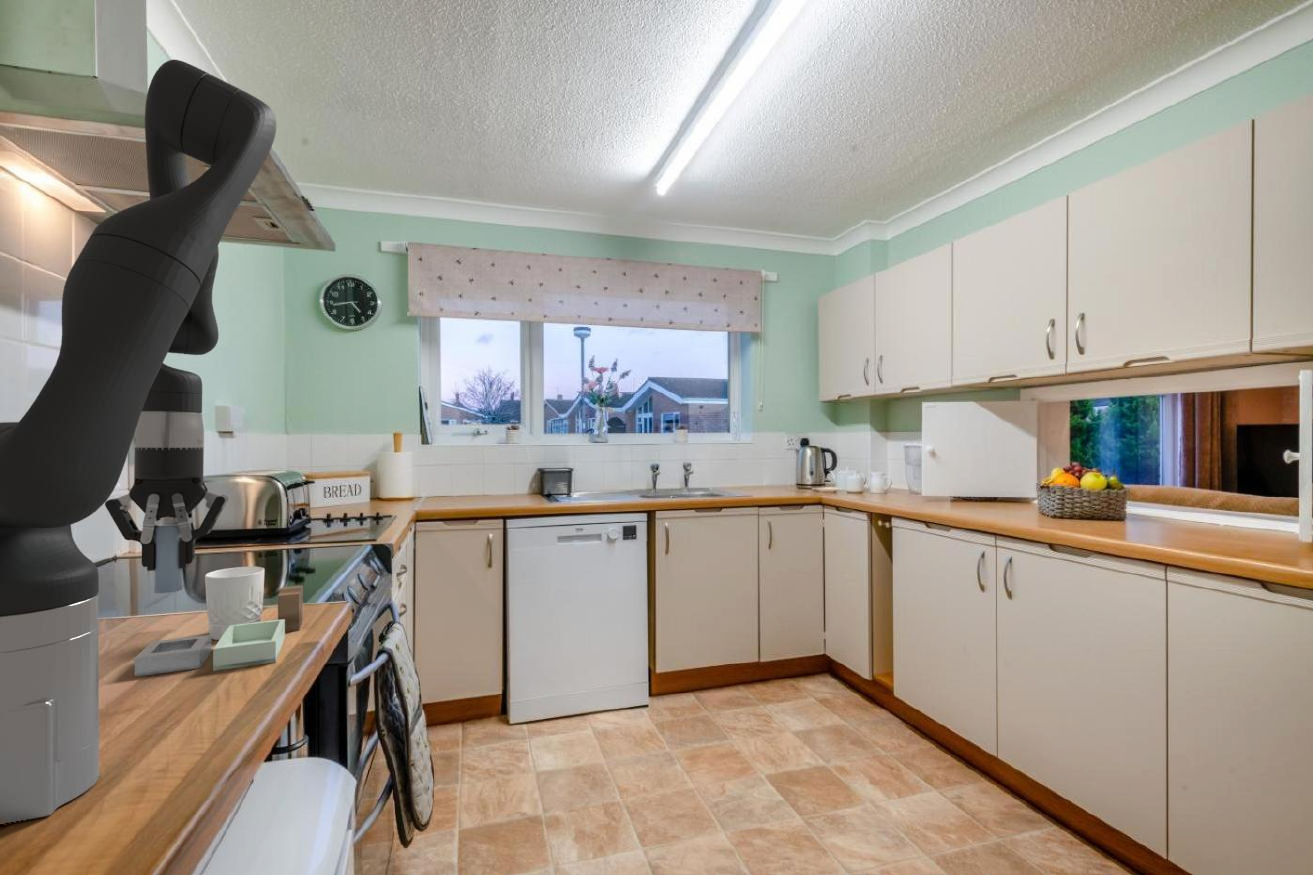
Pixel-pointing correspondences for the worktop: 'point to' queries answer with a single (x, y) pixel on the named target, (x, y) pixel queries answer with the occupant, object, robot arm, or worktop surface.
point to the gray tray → (173, 655)
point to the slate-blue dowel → (167, 559)
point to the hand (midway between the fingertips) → (168, 568)
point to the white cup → (233, 598)
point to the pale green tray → (249, 645)
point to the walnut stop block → (291, 607)
